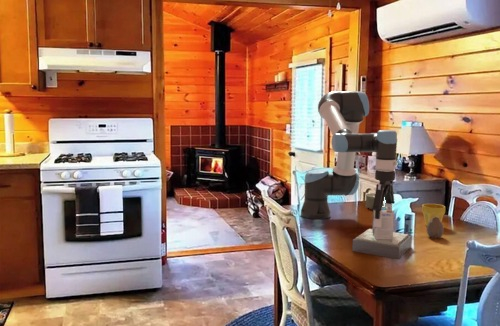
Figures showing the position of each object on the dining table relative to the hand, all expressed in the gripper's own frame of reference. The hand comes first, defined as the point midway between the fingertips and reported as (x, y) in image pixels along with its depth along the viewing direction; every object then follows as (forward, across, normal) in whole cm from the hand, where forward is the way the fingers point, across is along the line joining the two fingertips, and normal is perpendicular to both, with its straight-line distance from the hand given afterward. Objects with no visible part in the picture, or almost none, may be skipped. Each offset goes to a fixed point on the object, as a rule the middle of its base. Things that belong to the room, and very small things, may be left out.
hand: (382, 223), depth 195 cm
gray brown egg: (+11, +30, -14) cm, 35 cm away
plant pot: (+11, +50, -9) cm, 52 cm away
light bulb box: (+5, 0, 0) cm, 5 cm away
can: (+11, +75, +26) cm, 80 cm away
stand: (+10, 0, 0) cm, 11 cm away
